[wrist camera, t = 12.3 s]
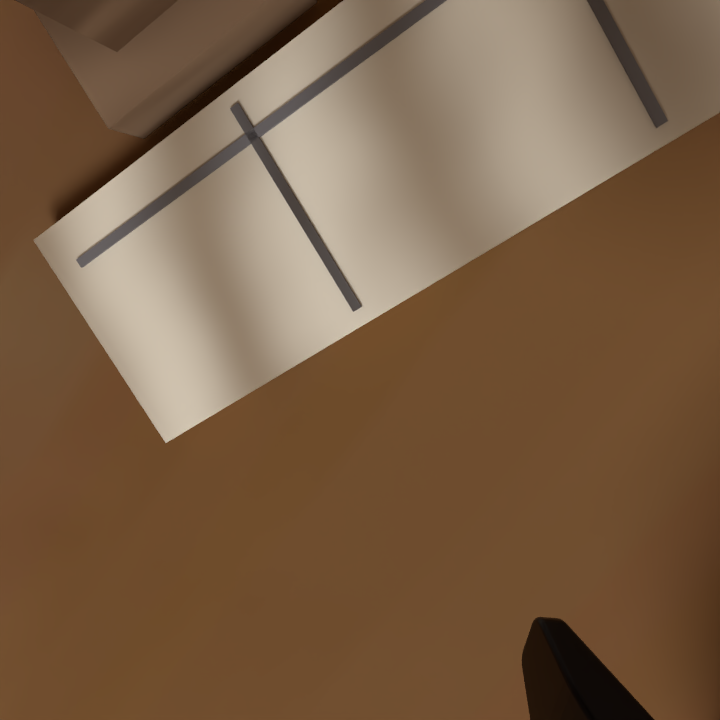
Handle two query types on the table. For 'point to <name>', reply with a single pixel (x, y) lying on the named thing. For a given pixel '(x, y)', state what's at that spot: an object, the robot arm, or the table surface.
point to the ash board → (367, 178)
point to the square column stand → (157, 49)
